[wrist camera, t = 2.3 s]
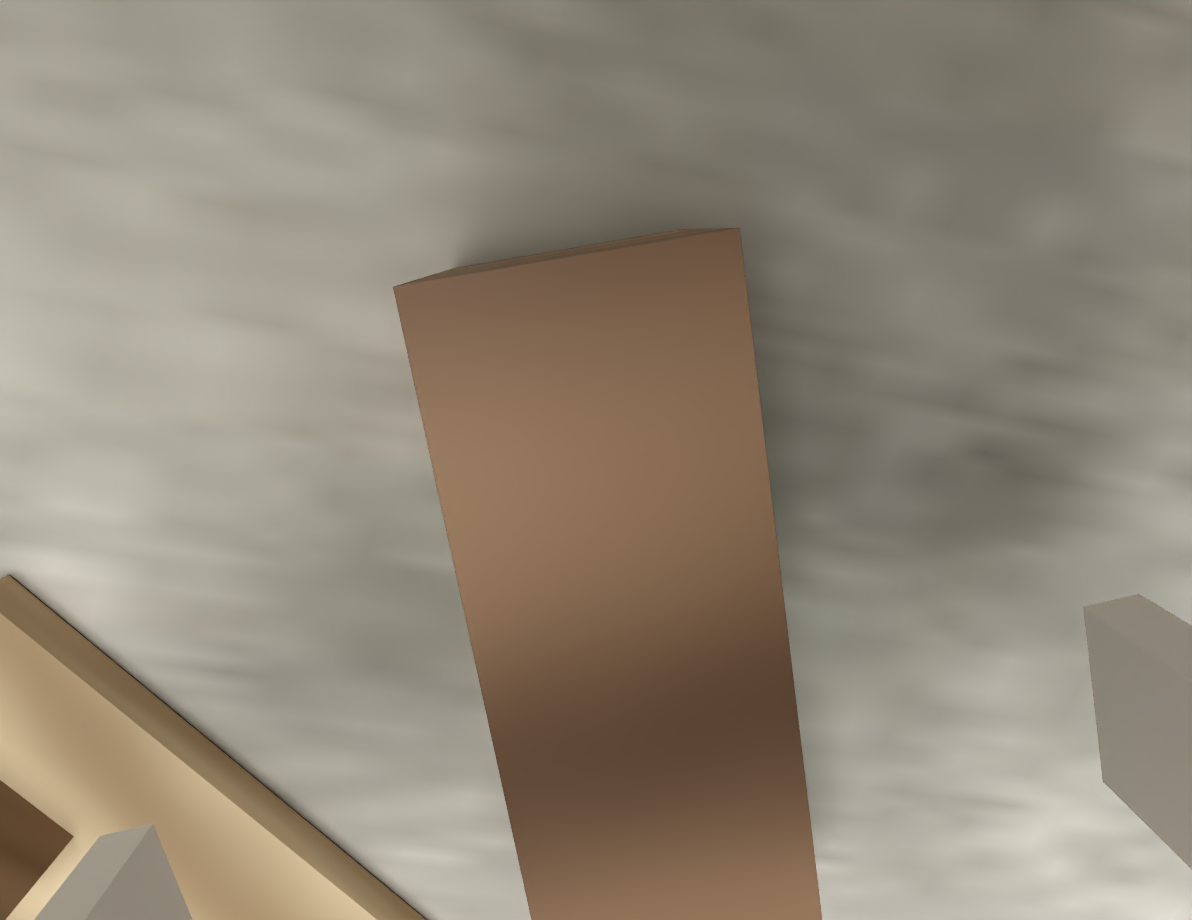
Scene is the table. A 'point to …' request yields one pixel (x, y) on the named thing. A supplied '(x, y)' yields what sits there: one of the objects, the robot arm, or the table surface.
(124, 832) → the robot arm
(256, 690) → the table surface
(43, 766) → the cleat board
